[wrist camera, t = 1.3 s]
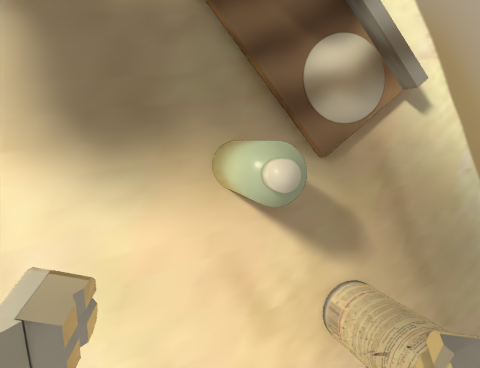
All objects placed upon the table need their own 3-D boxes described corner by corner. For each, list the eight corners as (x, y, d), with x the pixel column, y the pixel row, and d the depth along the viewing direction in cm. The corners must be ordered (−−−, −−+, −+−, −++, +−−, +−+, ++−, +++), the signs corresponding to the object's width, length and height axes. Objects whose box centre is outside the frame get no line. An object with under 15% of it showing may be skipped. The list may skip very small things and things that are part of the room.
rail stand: (170, -48, 41) (185, -111, 31) (274, -125, 43) (322, -208, 33) (319, 156, 47) (373, 161, 37) (406, 81, 49) (481, 65, 39)
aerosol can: (336, 351, 50) (470, 483, 31) (313, 299, 49) (437, 404, 29) (386, 320, 51) (545, 428, 32) (364, 269, 50) (516, 350, 31)
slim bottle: (202, 161, 44) (237, 171, 31) (240, 130, 45) (290, 125, 31) (233, 199, 45) (279, 225, 32) (269, 168, 46) (330, 180, 32)
